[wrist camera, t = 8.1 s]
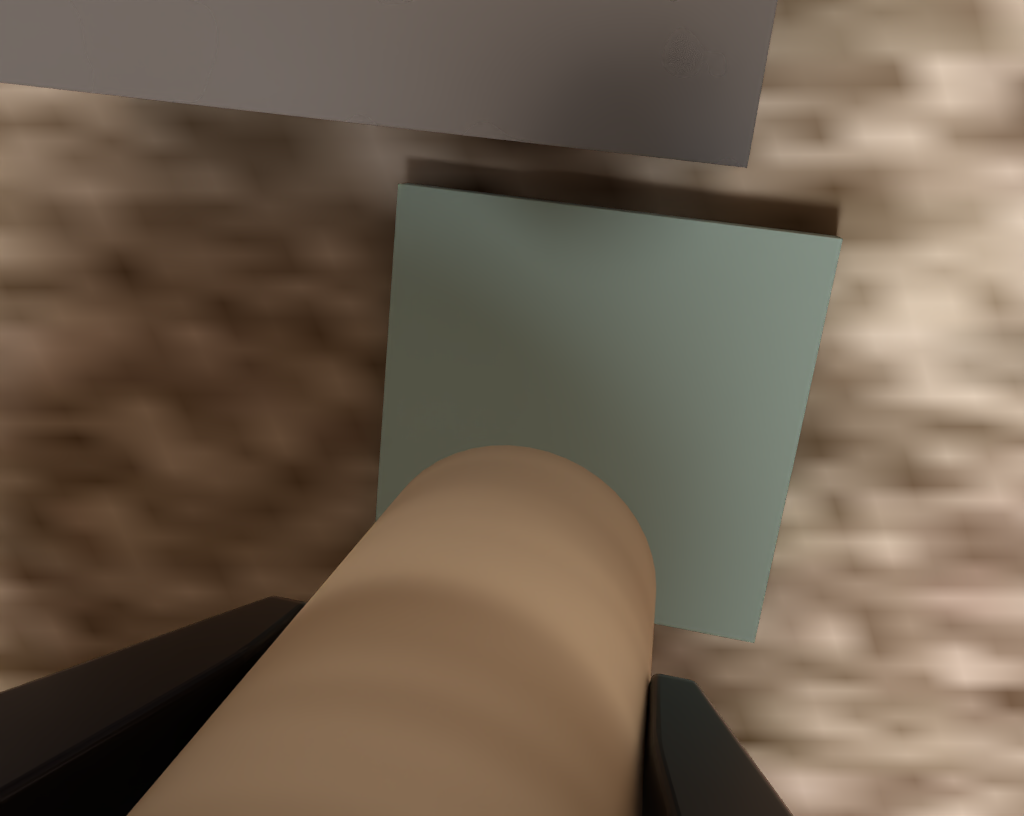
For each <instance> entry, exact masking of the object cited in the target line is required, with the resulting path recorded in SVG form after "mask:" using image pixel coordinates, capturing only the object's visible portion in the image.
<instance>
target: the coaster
mask: <svg viewBox="0 0 1024 816" xmlns="http://www.w3.org/2000/svg"><path fill="white" fill-rule="evenodd" d="M842 240H843V239H842V238H840V237H838V236H833V235H824V234H816V233H808V232H800V231H792V230H784V229H776V228H768V227H760V226H752V225H744V224H736V223H728V222H719V221H711V220H703V219H695V218H687V217H679V216H671V215H663V214H655V213H647V212H639V211H631V210H622V209H614V208H606V207H598V206H590V205H582V204H574V203H566V202H558V201H550V200H542V199H534V198H526V197H517V196H509V195H501V194H493V193H485V192H477V191H469V190H461V189H453V188H445V187H437V186H429V185H420V184H412V183H402V184H398V193H397V208H396V223H395V238H394V253H393V268H392V282H391V297H390V312H389V327H388V342H387V357H386V372H385V387H384V402H383V416H382V431H381V446H380V461H379V476H378V491H377V506H376V521H377V520H378V519H379V517H380V516H381V515H382V514H383V513H384V512H385V510H386V509H387V508H388V507H389V506H390V505H391V503H392V502H393V501H394V500H395V499H396V497H397V496H398V495H399V494H400V493H401V492H402V490H403V489H404V488H405V487H406V486H407V485H408V484H409V483H410V481H412V480H413V479H414V478H415V477H416V476H417V475H419V474H420V473H421V472H422V471H423V470H425V469H426V468H428V467H430V466H431V465H433V464H434V463H436V462H437V461H439V460H442V459H444V458H446V457H448V456H450V455H453V454H455V453H458V452H462V451H465V450H469V449H472V448H479V447H485V446H498V445H512V446H522V447H530V448H534V449H538V450H543V451H547V452H550V453H553V454H555V455H558V456H561V457H564V458H566V459H568V460H570V461H572V462H574V463H576V464H578V465H580V466H582V467H584V468H585V469H587V470H588V471H590V472H591V473H593V474H594V475H596V476H597V477H598V478H600V479H601V480H602V481H603V482H604V483H606V484H607V485H608V486H609V487H610V488H611V489H612V490H614V491H615V492H616V494H617V495H618V496H619V497H620V498H621V499H622V500H623V501H624V503H625V504H626V505H627V506H628V508H629V509H630V511H631V512H632V513H633V515H634V516H635V518H636V519H637V521H638V523H639V525H640V527H641V529H642V531H643V533H644V535H645V537H646V539H647V542H648V545H649V548H650V551H651V554H652V558H653V563H654V568H655V575H656V601H655V617H654V624H659V625H664V626H669V627H674V628H680V629H685V630H690V631H695V632H700V633H705V634H710V635H716V636H721V637H726V638H731V639H736V640H741V641H746V642H752V643H754V642H755V637H756V633H757V628H758V624H759V619H760V615H761V610H762V605H763V601H764V596H765V592H766V587H767V583H768V578H769V573H770V569H771V564H772V560H773V555H774V551H775V546H776V541H777V537H778V532H779V528H780V523H781V519H782V514H783V509H784V505H785V500H786V496H787V491H788V487H789V482H790V477H791V473H792V468H793V464H794V459H795V455H796V450H797V446H798V441H799V436H800V432H801V427H802V423H803V418H804V414H805V409H806V404H807V400H808V395H809V391H810V386H811V382H812V377H813V372H814V368H815V363H816V359H817V354H818V350H819V345H820V340H821V336H822V331H823V327H824V322H825V318H826V313H827V308H828V304H829V299H830V295H831V290H832V286H833V281H834V276H835V272H836V267H837V263H838V258H839V254H840V249H841V244H842ZM376 521H375V522H376Z"/></svg>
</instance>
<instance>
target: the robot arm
mask: <svg viewBox="0 0 1024 816" xmlns="http://www.w3.org/2000/svg"><path fill="white" fill-rule="evenodd" d="M306 604H307V603H305V602H302V601H297V600H292V599H287V598H282V597H277V596H271V597H268V598H265V599H262V600H259V601H256V602H253V603H251V604H248V605H245V606H242V607H239V608H237V609H234V610H231V611H228V612H225V613H222V614H220V615H217V616H214V617H211V618H208V619H206V620H203V621H200V622H197V623H194V624H192V625H189V626H186V627H183V628H180V629H177V630H175V631H172V632H169V633H166V634H163V635H161V636H158V637H155V638H152V639H149V640H147V641H144V642H141V643H138V644H135V645H132V646H130V647H127V648H124V649H121V650H118V651H116V652H113V653H110V654H107V655H104V656H101V657H99V658H96V659H93V660H90V661H87V662H85V663H82V664H79V665H76V666H73V667H71V668H68V669H65V670H62V671H59V672H56V673H54V674H51V675H48V676H45V677H42V678H40V679H37V680H34V681H31V682H28V683H26V684H23V685H20V686H17V687H14V688H11V689H9V690H6V691H3V692H0V816H127V815H128V813H129V812H130V811H131V810H132V809H133V807H134V806H135V805H136V804H137V803H138V802H139V800H140V799H141V798H142V797H143V796H144V794H145V793H146V792H147V791H148V790H149V789H150V787H151V786H152V785H153V784H154V783H155V781H156V780H157V779H158V778H159V777H160V776H161V774H162V773H163V772H164V771H165V770H166V769H167V767H168V766H169V765H170V764H171V763H172V761H173V760H174V759H175V758H176V757H177V756H178V754H179V753H180V752H181V751H182V750H183V748H184V747H185V746H186V745H187V744H188V743H189V741H190V740H191V739H192V738H193V737H194V736H195V734H196V733H197V732H198V731H199V730H200V728H201V727H202V726H203V725H204V724H205V723H206V721H207V720H208V719H209V718H210V717H211V715H212V714H213V713H214V712H215V711H216V710H217V708H218V707H219V706H220V705H221V704H222V703H223V701H224V700H225V699H226V698H227V697H228V695H229V694H230V693H231V692H232V691H233V690H234V688H235V687H236V686H237V685H238V684H239V682H240V681H241V680H242V679H243V678H244V677H245V675H246V674H247V673H248V672H249V671H250V670H251V668H252V667H253V666H254V665H255V664H256V662H257V661H258V660H259V659H260V658H261V657H262V655H263V654H264V653H265V652H266V651H267V649H268V648H269V647H270V646H271V645H272V644H273V642H274V641H275V640H276V639H277V638H278V637H279V635H280V634H281V633H282V632H283V631H284V629H285V628H286V627H287V626H288V625H289V624H290V622H291V621H292V620H293V619H294V618H295V616H296V615H297V614H298V613H299V612H300V611H301V609H302V608H303V607H304V606H305V605H306ZM642 816H793V815H792V813H791V812H790V810H789V809H788V808H787V806H786V805H785V804H784V802H783V801H782V799H781V798H780V797H779V795H778V794H777V793H776V791H775V790H774V788H773V787H772V786H771V784H770V783H769V782H768V780H767V779H766V777H765V776H764V775H763V773H762V772H761V771H760V769H759V768H758V767H757V765H756V764H755V762H754V761H753V760H752V758H751V757H750V756H749V754H748V753H747V751H746V750H745V749H744V747H743V746H742V745H741V743H740V742H739V740H738V739H737V738H736V736H735V735H734V734H733V732H732V731H731V729H730V728H729V727H728V725H727V724H726V723H725V721H724V720H723V718H722V717H721V716H720V714H719V713H718V712H717V710H716V709H715V708H714V706H713V705H712V703H711V702H710V701H709V699H708V698H707V697H706V695H705V694H704V692H703V691H702V690H701V688H700V687H699V686H698V685H697V684H696V683H695V682H694V681H692V680H688V679H683V678H678V677H673V676H668V675H663V674H656V675H653V677H652V678H651V680H650V684H649V696H648V711H647V726H646V742H645V757H644V774H643V805H642Z"/></svg>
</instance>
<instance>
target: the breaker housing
mask: <svg viewBox="0 0 1024 816" xmlns="http://www.w3.org/2000/svg"><path fill="white" fill-rule="evenodd" d="M776 5H777V0H0V83H9V84H18V85H27V86H35V87H44V88H53V89H62V90H70V91H79V92H88V93H97V94H106V95H114V96H123V97H132V98H141V99H149V100H158V101H167V102H176V103H185V104H193V105H202V106H211V107H220V108H228V109H237V110H246V111H255V112H263V113H272V114H281V115H290V116H299V117H307V118H316V119H325V120H334V121H342V122H351V123H360V124H369V125H377V126H386V127H395V128H404V129H413V130H421V131H430V132H439V133H448V134H456V135H465V136H474V137H483V138H492V139H500V140H509V141H518V142H527V143H535V144H544V145H553V146H562V147H570V148H579V149H588V150H597V151H606V152H614V153H623V154H632V155H641V156H649V157H658V158H667V159H676V160H684V161H693V162H702V163H711V164H720V165H728V166H737V167H746V168H747V165H748V159H749V154H750V148H751V143H752V137H753V132H754V126H755V121H756V115H757V110H758V104H759V99H760V93H761V88H762V82H763V77H764V71H765V66H766V60H767V55H768V49H769V44H770V38H771V33H772V27H773V22H774V16H775V11H776Z"/></svg>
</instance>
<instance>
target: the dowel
mask: <svg viewBox="0 0 1024 816" xmlns="http://www.w3.org/2000/svg"><path fill="white" fill-rule="evenodd" d="M655 601H656V575H655V568H654V563H653V558H652V554H651V551H650V548H649V545H648V542H647V539H646V537H645V535H644V533H643V531H642V529H641V527H640V525H639V523H638V521H637V519H636V518H635V516H634V515H633V513H632V512H631V511H630V509H629V508H628V506H627V505H626V504H625V503H624V501H623V500H622V499H621V498H620V497H619V496H618V495H617V494H616V492H615V491H614V490H612V489H611V488H610V487H609V486H608V485H607V484H606V483H604V482H603V481H602V480H601V479H600V478H598V477H597V476H596V475H594V474H593V473H591V472H590V471H588V470H587V469H585V468H584V467H582V466H580V465H578V464H576V463H574V462H572V461H570V460H568V459H566V458H564V457H561V456H558V455H555V454H553V453H550V452H547V451H543V450H538V449H534V448H530V447H522V446H512V445H498V446H485V447H479V448H472V449H469V450H465V451H462V452H458V453H455V454H453V455H450V456H448V457H446V458H444V459H442V460H439V461H437V462H436V463H434V464H433V465H431V466H430V467H428V468H426V469H425V470H423V471H422V472H421V473H420V474H419V475H417V476H416V477H415V478H414V479H413V480H412V481H410V483H409V484H408V485H407V486H406V487H405V488H404V489H403V490H402V492H401V493H400V494H399V495H398V496H397V497H396V499H395V500H394V501H393V502H392V503H391V505H390V506H389V507H388V508H387V509H386V510H385V512H384V513H383V514H382V515H381V516H380V517H379V519H378V520H377V521H376V522H375V523H374V525H373V526H372V527H371V528H370V529H369V530H368V532H367V533H366V534H365V535H364V536H363V538H362V539H361V540H360V541H359V542H358V543H357V545H356V546H355V547H354V548H353V549H352V550H351V552H350V553H349V554H348V555H347V556H346V558H345V559H344V560H343V561H342V562H341V563H340V565H339V566H338V567H337V568H336V569H335V571H334V572H333V573H332V574H331V575H330V576H329V578H328V579H327V580H326V581H325V582H324V583H323V585H322V586H321V587H320V588H319V589H318V591H317V592H316V593H315V594H314V595H313V596H312V598H311V599H310V600H309V601H308V602H307V604H306V605H305V606H304V607H303V608H302V609H301V611H300V612H299V613H298V614H297V615H296V616H295V618H294V619H293V620H292V621H291V622H290V624H289V625H288V626H287V627H286V628H285V629H284V631H283V632H282V633H281V634H280V635H279V637H278V638H277V639H276V640H275V641H274V642H273V644H272V645H271V646H270V647H269V648H268V649H267V651H266V652H265V653H264V654H263V655H262V657H261V658H260V659H259V660H258V661H257V662H256V664H255V665H254V666H253V667H252V668H251V670H250V671H249V672H248V673H247V674H246V675H245V677H244V678H243V679H242V680H241V681H240V682H239V684H238V685H237V686H236V687H235V688H234V690H233V691H232V692H231V693H230V694H229V695H228V697H227V698H226V699H225V700H224V701H223V703H222V704H221V705H220V706H219V707H218V708H217V710H216V711H215V712H214V713H213V714H212V715H211V717H210V718H209V719H208V720H207V721H206V723H205V724H204V725H203V726H202V727H201V728H200V730H199V731H198V732H197V733H196V734H195V736H194V737H193V738H192V739H191V740H190V741H189V743H188V744H187V745H186V746H185V747H184V748H183V750H182V751H181V752H180V753H179V754H178V756H177V757H176V758H175V759H174V760H173V761H172V763H171V764H170V765H169V766H168V767H167V769H166V770H165V771H164V772H163V773H162V774H161V776H160V777H159V778H158V779H157V780H156V781H155V783H154V784H153V785H152V786H151V787H150V789H149V790H148V791H147V792H146V793H145V794H144V796H143V797H142V798H141V799H140V800H139V802H138V803H137V804H136V805H135V806H134V807H133V809H132V810H131V811H130V812H129V813H128V815H127V816H642V805H643V774H644V757H645V742H646V726H647V711H648V696H649V684H650V680H651V665H652V649H653V633H654V617H655Z"/></svg>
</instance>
